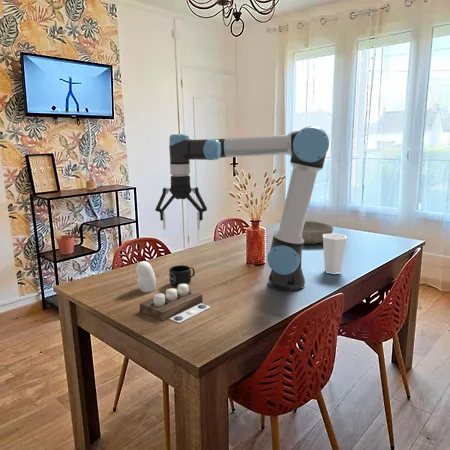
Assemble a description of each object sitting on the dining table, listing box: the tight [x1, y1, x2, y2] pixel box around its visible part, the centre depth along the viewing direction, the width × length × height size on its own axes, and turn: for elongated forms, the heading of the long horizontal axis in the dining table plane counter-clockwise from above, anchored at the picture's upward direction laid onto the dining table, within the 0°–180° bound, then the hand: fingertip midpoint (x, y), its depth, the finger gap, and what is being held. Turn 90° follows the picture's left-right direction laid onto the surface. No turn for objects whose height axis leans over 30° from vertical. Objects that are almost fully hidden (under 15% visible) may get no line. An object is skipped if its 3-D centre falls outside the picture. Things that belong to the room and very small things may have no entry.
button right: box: [177, 284, 190, 297], centre depth 147 cm, size 4×4×4 cm
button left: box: [152, 292, 165, 308], centre depth 138 cm, size 4×4×4 cm
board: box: [139, 287, 203, 321], centre depth 143 cm, size 12×20×3 cm, turn 141°
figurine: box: [135, 260, 157, 293], centre depth 158 cm, size 7×8×12 cm
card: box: [168, 302, 212, 324], centre depth 138 cm, size 5×16×1 cm, turn 141°
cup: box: [322, 232, 348, 273], centre depth 177 cm, size 11×10×17 cm
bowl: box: [302, 220, 334, 245], centre depth 231 cm, size 28×28×10 cm
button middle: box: [165, 287, 177, 302], centre depth 143 cm, size 4×4×4 cm
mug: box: [168, 264, 196, 288], centre depth 165 cm, size 12×9×7 cm
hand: (181, 228), depth 156 cm, fingers open, 13 cm apart
